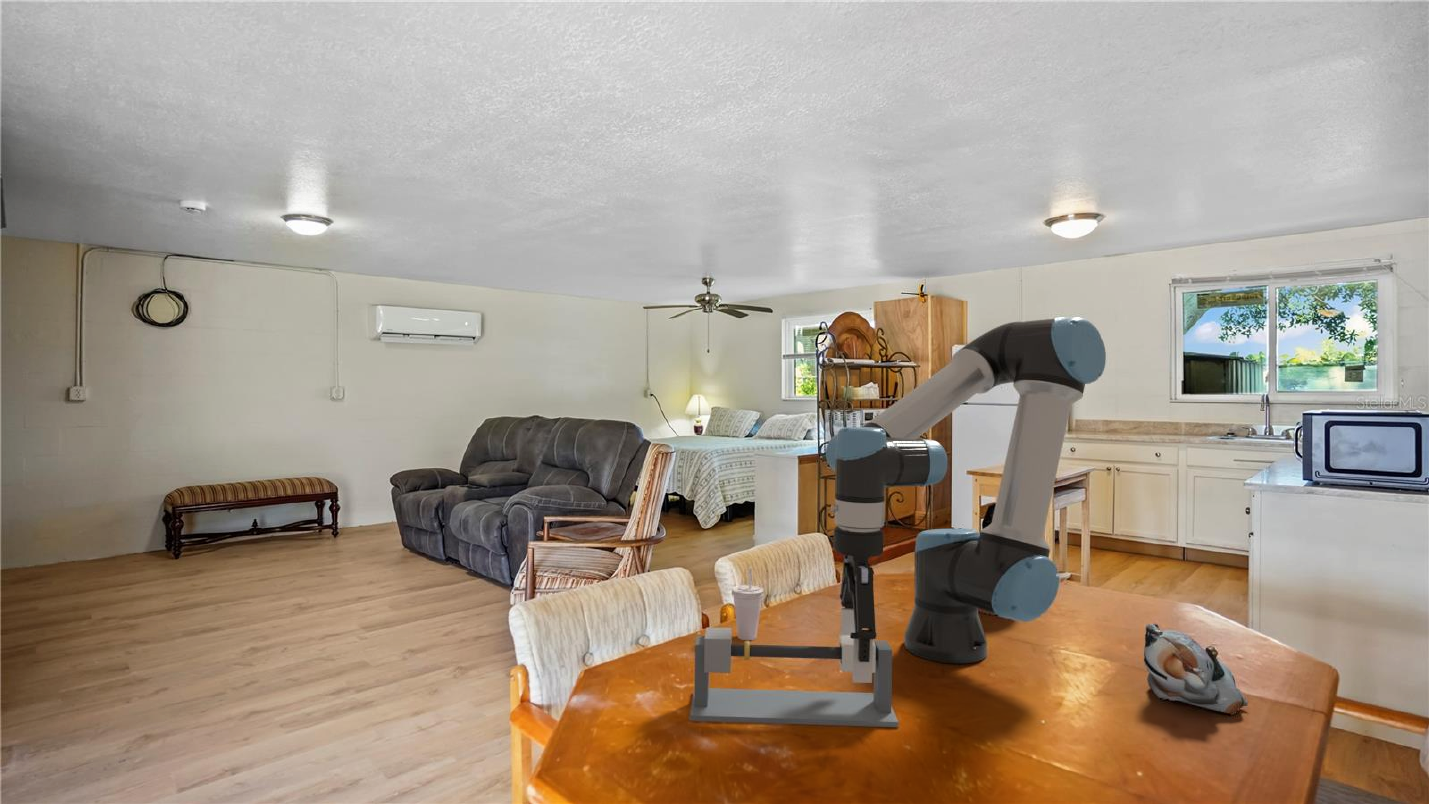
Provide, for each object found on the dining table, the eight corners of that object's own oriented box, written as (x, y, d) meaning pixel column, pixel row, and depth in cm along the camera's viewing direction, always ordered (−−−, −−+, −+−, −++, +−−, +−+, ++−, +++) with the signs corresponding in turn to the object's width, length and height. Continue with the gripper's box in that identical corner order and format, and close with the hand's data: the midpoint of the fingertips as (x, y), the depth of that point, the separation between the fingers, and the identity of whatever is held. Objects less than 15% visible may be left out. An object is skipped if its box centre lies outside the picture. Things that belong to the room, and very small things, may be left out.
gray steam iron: (1265, 719, 111) (1246, 648, 108) (1186, 743, 113) (1164, 674, 109) (1205, 656, 126) (1186, 591, 122) (1135, 679, 127) (1115, 616, 124)
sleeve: (870, 662, 115) (871, 635, 115) (875, 672, 111) (875, 645, 110) (838, 661, 115) (839, 635, 115) (842, 671, 111) (842, 644, 111)
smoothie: (760, 644, 142) (761, 572, 142) (728, 641, 143) (729, 570, 143) (765, 633, 148) (765, 564, 148) (734, 630, 150) (734, 562, 149)
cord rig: (885, 698, 118) (886, 627, 117) (898, 727, 108) (899, 649, 107) (694, 692, 119) (695, 622, 119) (689, 720, 109) (690, 644, 109)
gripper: (825, 513, 125) (822, 636, 125) (844, 543, 100) (840, 696, 100) (869, 514, 125) (866, 637, 125) (899, 545, 100) (895, 699, 100)
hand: (855, 664), depth 113 cm, fingers open, 13 cm apart
